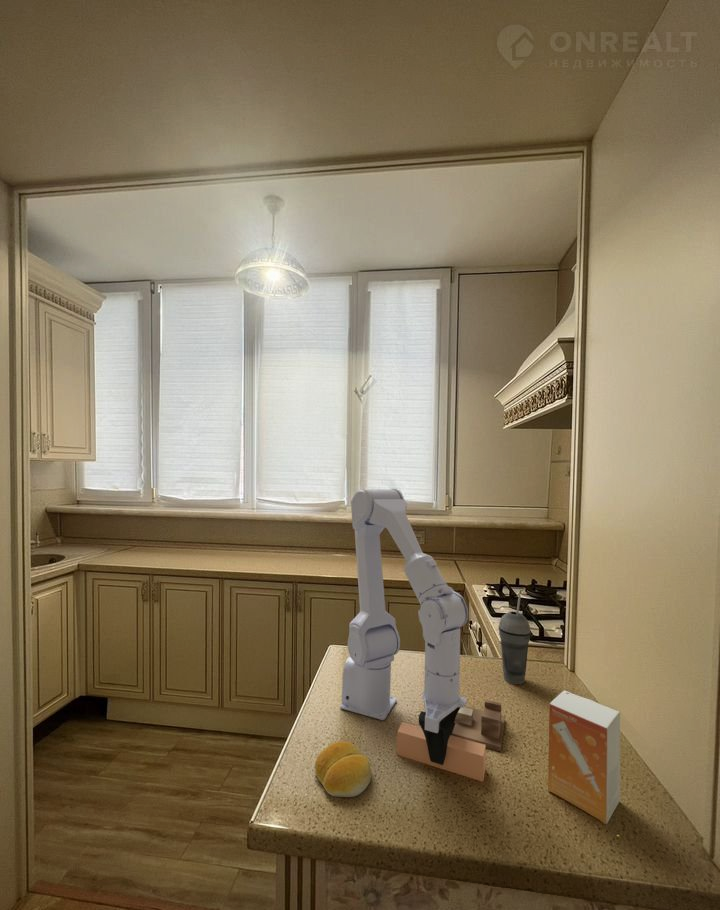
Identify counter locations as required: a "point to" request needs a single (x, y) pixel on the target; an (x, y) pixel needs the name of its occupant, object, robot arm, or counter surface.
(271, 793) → the counter surface
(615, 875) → the counter surface
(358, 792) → the bread roll
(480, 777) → the bar
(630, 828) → the counter surface
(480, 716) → the stand
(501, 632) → the beverage cup
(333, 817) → the counter surface
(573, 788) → the small box
